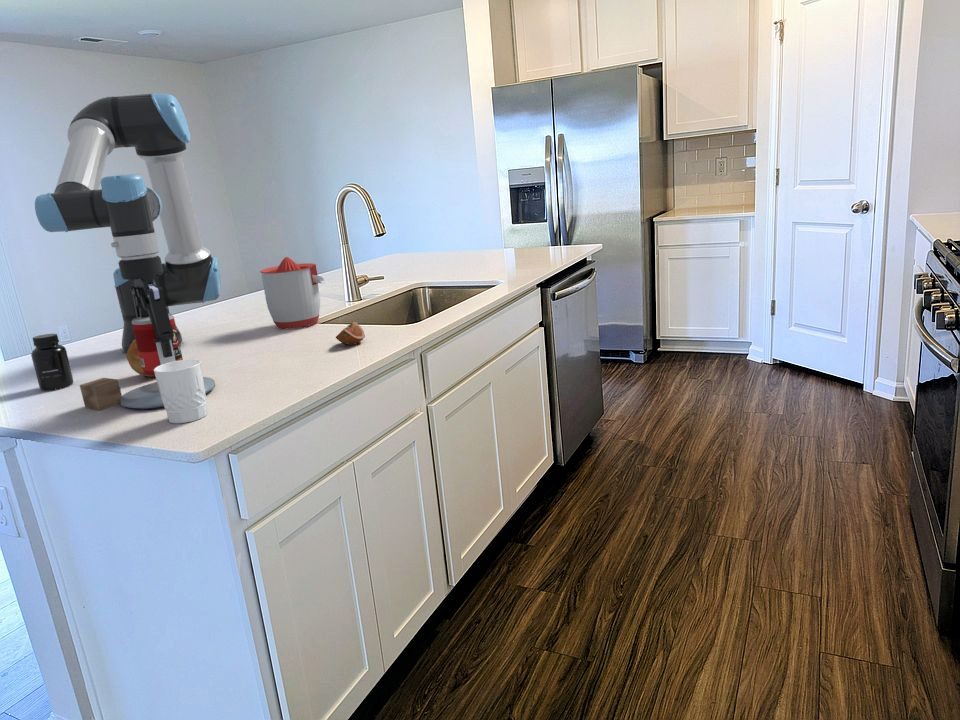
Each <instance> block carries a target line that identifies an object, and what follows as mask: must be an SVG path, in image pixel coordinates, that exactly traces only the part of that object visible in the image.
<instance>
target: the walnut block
mask: <svg viewBox="0 0 960 720" xmlns="http://www.w3.org/2000/svg"><path fill="white" fill-rule="evenodd" d="M79 389H80V392H81V396H82V402H83V404H84V407H85V409H87V410H93V411H94V410H95V411H104V410H107V409H109V408H111V407H114V406H117V405H121V402H120V398H121V397H122V396H123V395H122V391H121V387H120V382H119V379H116V378H109V377H101V378H98V379H95V380H92V381H89V382H88V381H87V382H85V383H82V384H79Z"/></svg>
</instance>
